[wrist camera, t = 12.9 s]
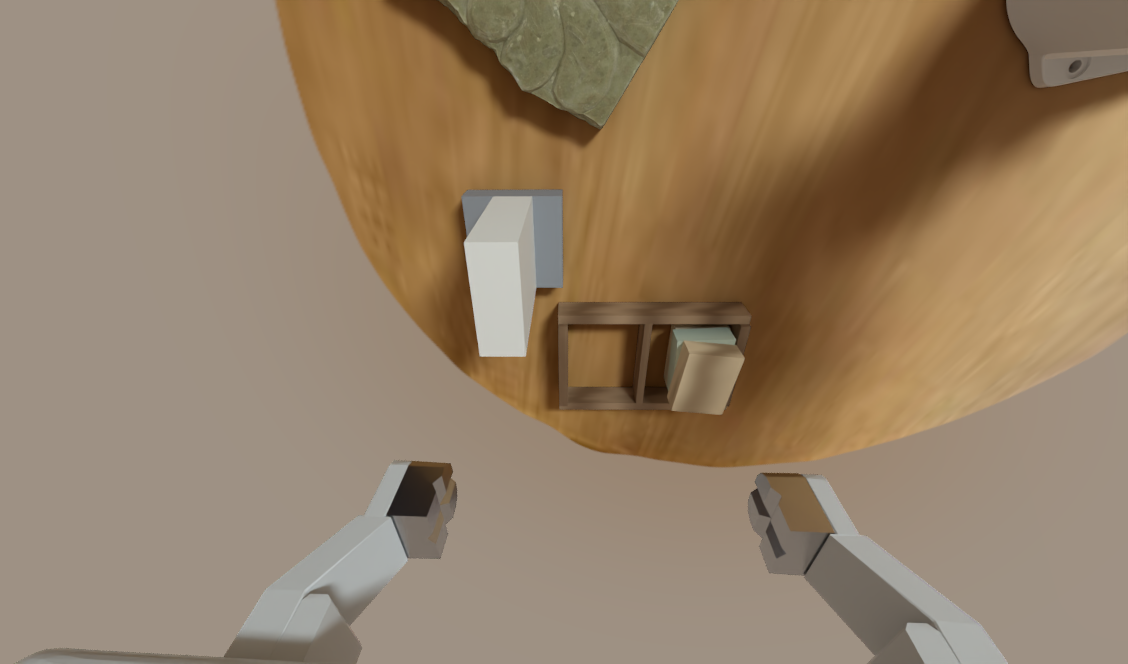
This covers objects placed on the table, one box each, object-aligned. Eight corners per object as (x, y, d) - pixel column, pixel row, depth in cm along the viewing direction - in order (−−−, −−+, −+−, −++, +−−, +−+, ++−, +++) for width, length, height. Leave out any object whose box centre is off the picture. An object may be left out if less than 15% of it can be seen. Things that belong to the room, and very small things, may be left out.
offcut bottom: (723, 318, 46) (731, 329, 44) (710, 374, 51) (717, 386, 48) (670, 318, 46) (675, 329, 44) (662, 374, 51) (666, 386, 49)
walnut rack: (741, 302, 45) (753, 318, 42) (718, 393, 51) (727, 412, 48) (558, 302, 45) (557, 318, 42) (559, 393, 52) (559, 412, 49)
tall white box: (532, 196, 36) (517, 242, 26) (536, 287, 41) (525, 356, 31) (493, 196, 36) (463, 242, 26) (501, 287, 41) (479, 356, 31)
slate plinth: (562, 189, 38) (561, 196, 36) (562, 277, 43) (562, 287, 41) (467, 190, 39) (461, 196, 36) (478, 277, 43) (473, 287, 41)
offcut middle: (728, 327, 44) (735, 339, 42) (717, 384, 48) (724, 398, 46) (672, 329, 44) (677, 341, 42) (666, 386, 49) (671, 399, 47)
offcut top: (736, 345, 42) (744, 358, 40) (715, 400, 46) (721, 414, 44) (683, 340, 42) (689, 353, 40) (666, 396, 46) (671, 410, 44)
